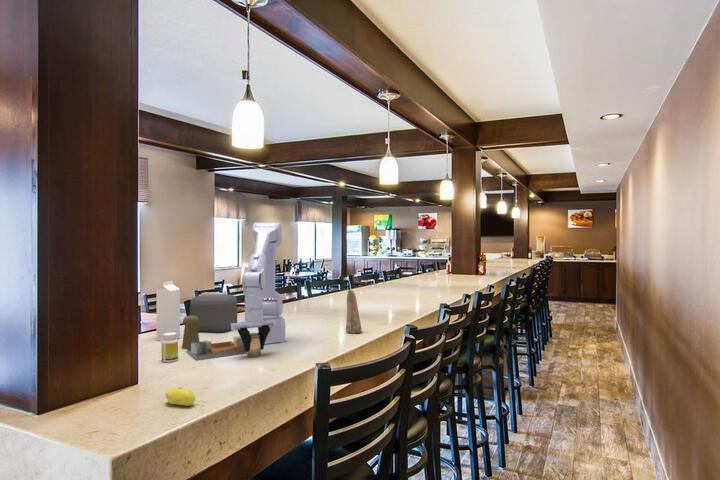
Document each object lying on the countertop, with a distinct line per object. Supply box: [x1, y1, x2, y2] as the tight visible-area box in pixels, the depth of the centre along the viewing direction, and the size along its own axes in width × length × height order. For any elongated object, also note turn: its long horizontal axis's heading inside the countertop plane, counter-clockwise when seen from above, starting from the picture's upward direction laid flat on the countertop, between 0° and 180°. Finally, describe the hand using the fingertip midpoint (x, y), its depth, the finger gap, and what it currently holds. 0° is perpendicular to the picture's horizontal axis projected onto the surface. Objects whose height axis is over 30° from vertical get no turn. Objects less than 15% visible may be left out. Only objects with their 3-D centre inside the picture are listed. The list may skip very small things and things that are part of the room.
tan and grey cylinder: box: [246, 332, 262, 358], centre depth 150 cm, size 5×5×7 cm
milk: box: [155, 280, 181, 342], centre depth 175 cm, size 6×6×22 cm
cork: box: [181, 315, 200, 350], centre depth 162 cm, size 6×6×11 cm
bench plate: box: [186, 335, 247, 361], centre depth 155 cm, size 20×13×5 cm, turn 124°
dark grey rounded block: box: [189, 291, 238, 333], centre depth 192 cm, size 16×11×16 cm
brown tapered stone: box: [345, 289, 362, 335], centre depth 186 cm, size 6×18×6 cm
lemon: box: [164, 387, 196, 407], centre depth 106 cm, size 4×8×4 cm, turn 64°
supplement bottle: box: [161, 333, 179, 363], centre depth 144 cm, size 5×5×8 cm
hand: (253, 350), depth 150 cm, fingers closed on tan and grey cylinder, 4 cm apart
